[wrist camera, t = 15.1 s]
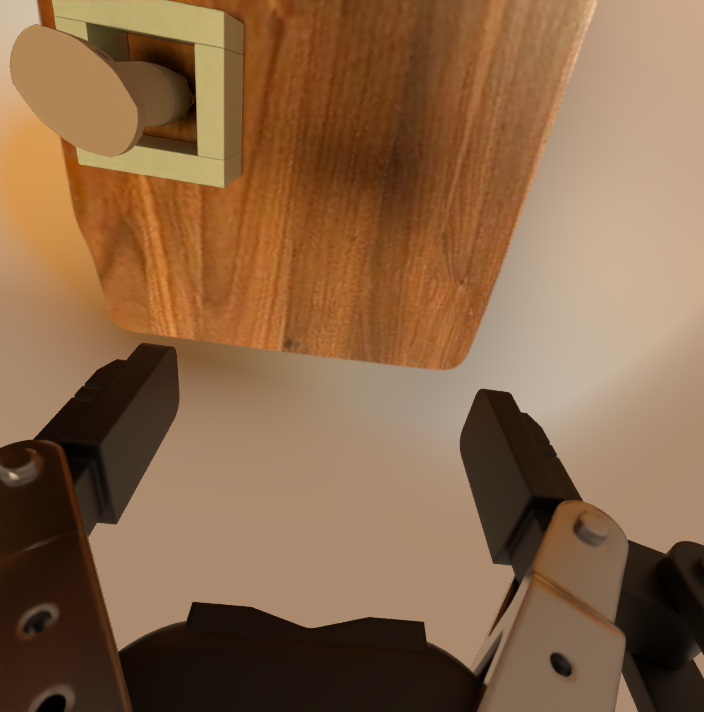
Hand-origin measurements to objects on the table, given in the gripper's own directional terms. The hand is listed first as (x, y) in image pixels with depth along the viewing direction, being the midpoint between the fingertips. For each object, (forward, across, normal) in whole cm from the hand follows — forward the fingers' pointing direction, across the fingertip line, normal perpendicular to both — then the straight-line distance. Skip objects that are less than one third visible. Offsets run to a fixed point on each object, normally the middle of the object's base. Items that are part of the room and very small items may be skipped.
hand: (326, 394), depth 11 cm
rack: (+32, +15, -4) cm, 36 cm away
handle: (+32, +15, -4) cm, 36 cm away
